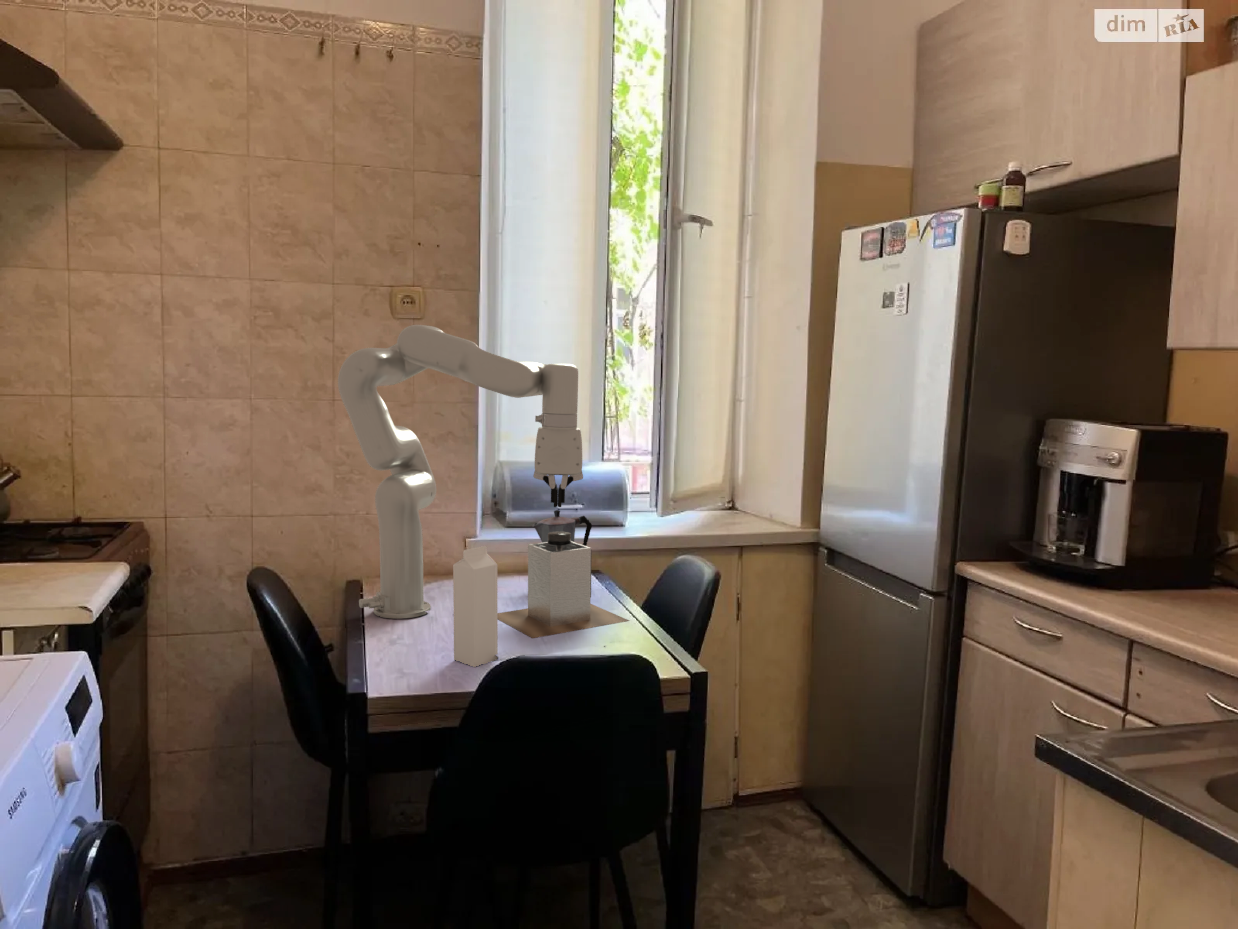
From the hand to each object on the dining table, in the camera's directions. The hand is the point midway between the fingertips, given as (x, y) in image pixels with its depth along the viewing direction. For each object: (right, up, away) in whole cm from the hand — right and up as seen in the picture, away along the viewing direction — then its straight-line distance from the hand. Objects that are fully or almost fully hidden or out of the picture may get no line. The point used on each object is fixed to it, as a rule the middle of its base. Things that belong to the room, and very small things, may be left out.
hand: (557, 506), depth 198 cm
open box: (+1, -25, +4) cm, 25 cm away
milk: (-14, -29, -22) cm, 39 cm away
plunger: (0, -19, +2) cm, 19 cm away
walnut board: (0, -26, +3) cm, 26 cm away
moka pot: (-1, -22, +33) cm, 40 cm away
